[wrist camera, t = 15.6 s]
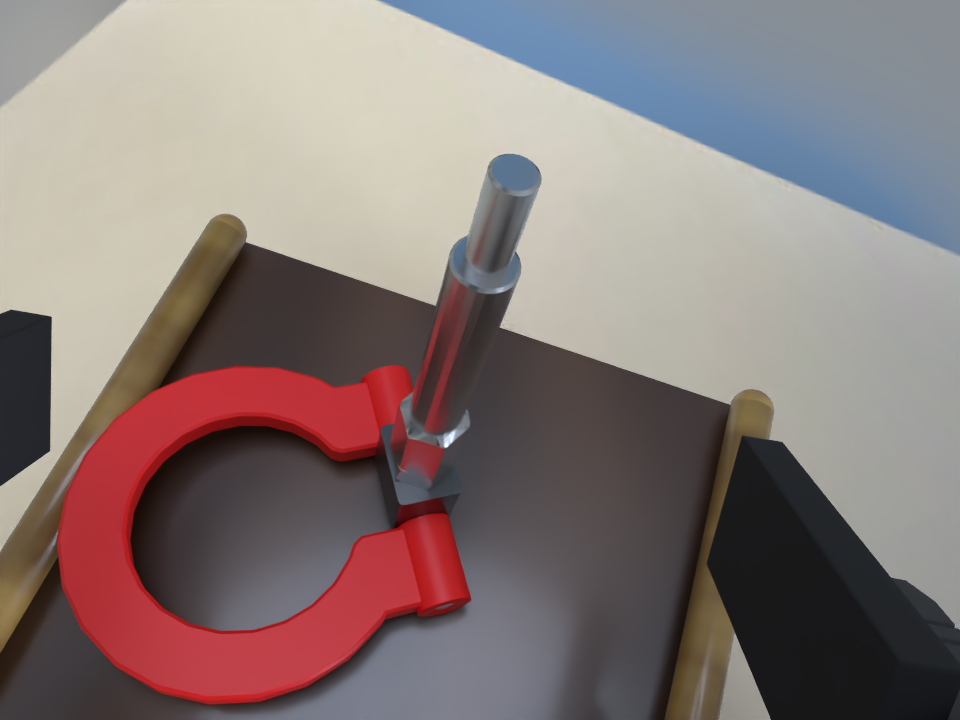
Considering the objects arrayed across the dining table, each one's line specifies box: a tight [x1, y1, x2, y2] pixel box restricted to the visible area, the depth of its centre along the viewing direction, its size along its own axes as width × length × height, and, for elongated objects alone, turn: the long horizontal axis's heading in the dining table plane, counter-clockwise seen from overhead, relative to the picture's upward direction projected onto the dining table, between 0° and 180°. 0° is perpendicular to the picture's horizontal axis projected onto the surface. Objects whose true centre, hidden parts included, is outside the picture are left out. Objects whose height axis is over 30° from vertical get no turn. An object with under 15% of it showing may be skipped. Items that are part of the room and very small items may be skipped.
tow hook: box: [57, 154, 541, 704], centre depth 16 cm, size 8×13×9 cm
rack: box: [0, 214, 774, 720], centre depth 24 cm, size 18×16×10 cm
